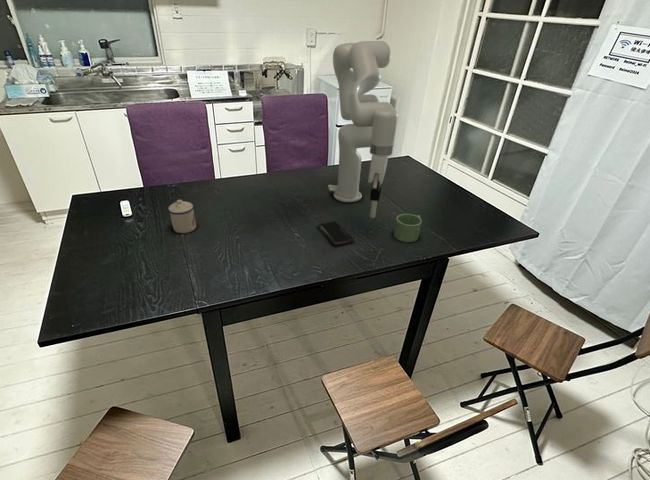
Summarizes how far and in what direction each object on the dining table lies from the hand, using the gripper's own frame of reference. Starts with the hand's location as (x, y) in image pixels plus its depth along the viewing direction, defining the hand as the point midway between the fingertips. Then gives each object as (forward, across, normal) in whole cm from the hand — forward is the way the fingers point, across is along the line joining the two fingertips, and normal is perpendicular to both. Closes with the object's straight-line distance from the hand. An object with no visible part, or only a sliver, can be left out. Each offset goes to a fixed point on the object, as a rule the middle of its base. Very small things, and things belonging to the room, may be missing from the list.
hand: (374, 198), depth 137 cm
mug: (+14, -3, +14) cm, 20 cm away
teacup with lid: (+15, +17, -71) cm, 74 cm away
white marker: (+8, 0, 0) cm, 8 cm away
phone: (+15, +6, -13) cm, 20 cm away
